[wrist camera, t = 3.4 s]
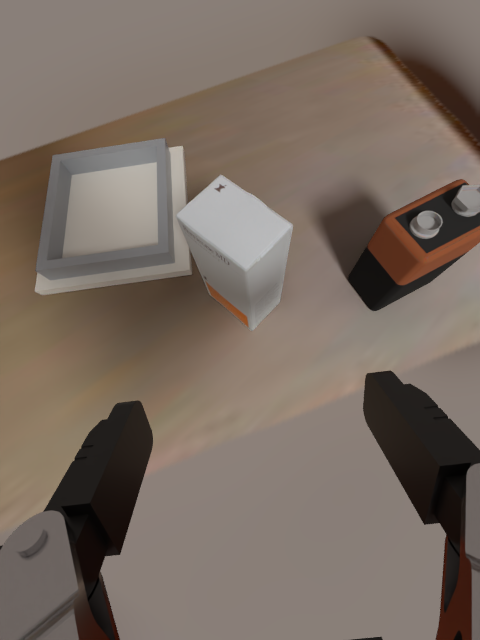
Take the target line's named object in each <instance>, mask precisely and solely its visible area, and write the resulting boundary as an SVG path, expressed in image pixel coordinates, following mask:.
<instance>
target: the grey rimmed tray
mask: <svg viewBox="0 0 480 640" xmlns="http://www.w3.org/2000/svg"><path fill="white" fill-rule="evenodd" d="M187 204H188V198H187V182H186V166H185V152H184V149H183V146H178V147H172V148H168V145H167V142H166V139H165V138H162V139H156V140H149V141H143V142H136V143H130V144H123V145H117V146H110V147H104V148H97V149H91V150H84V151H78V152H71V153H65V154H58V155H53V157H52V164H51V171H50V177H49V184H48V191H47V197H46V204H45V210H44V217H43V224H42V230H41V237H40V244H39V250H38V257H37V263H36V270H35V271H36V272H38V273H37V279H36V286H35V292H37V293H39V294H41V295H48V294H55V293H62V292H69V291H77V290H84V289H91V288H99V287H106V286H113V285H120V284H128V283H135V282H142V281H150V280H157V279H164V278H171V277H179V276H186V275H192V261H191V251H190V248H189V246H188V244H187V241H186V239H185V237H184V234H183V232H182V230H181V227H180V225H179V223H178V220H177V218H176V214H177V213H178V212H179V211H180V210H181V209H182V208H184V207H185V206H186V205H187Z"/></svg>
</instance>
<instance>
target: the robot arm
mask: <svg viewBox="0 0 480 640" xmlns="http://www.w3.org/2000/svg"><path fill="white" fill-rule="evenodd" d="M363 411H364V416H365V420H366V422H367V424H368V427H369V428H370V430H371V432H372V433H373V435H374V437H375V439H376V441H377V442H378V444H379V446H380V448H381V449H382V451H383V453H384V454H385V456H386V458H387V460H388V462H389V463H390V465H391V467H392V469H393V470H394V472H395V474H396V476H397V477H398V479H399V481H400V482H401V484H402V486H403V488H404V490H405V492H406V493H407V495H408V497H409V498H410V500H411V502H412V504H413V506H414V507H415V509H416V511H417V513H418V514H419V516H420V518H421V520H422V521H423V523H424V525H425V524H434V523H440V524H441V526H442V527H443V529H444V531H445V533H446V538H445V547H444V561H443V576H442V591H441V605H440V617H439V625H438V630H437V635H436V640H480V450H479V449H478V448H477V447H476V446H475V445H474V444H473V443H472V441H471V440H470V439H469V438H467V436H466V435H465V434H464V433H463V432H462V431H461V430H460V429H459V428H458V427H457V425H456V424H455V423H454V422H453V421H452V420H451V419H448V416H447V415H446V414H445V413H444V412H443V411H442V410H441V408H438V405H437V404H436V403H435V402H434V401H433V400H432V399H431V398H430V397H429V396H428V395H427V394H426V393H425V392H423V391H422V390H420V389H418V388H417V387H415V386H413V385H411V384H403V383H402V382H401V381H400V380H399V379H398V377H397V376H396V375H395V374H394V373H393V372H392V371H383V372H375V373H368V374H367V375H366V378H365V390H364V403H363ZM152 446H153V435H152V430H151V428H150V425H149V422H148V419H147V417H146V414H145V411H144V408H143V406H142V403H141V402H140V401H131V402H123V403H117V404H116V405H115V406H114V408H113V410H112V411H111V413H110V415H109V417H108V419H106V420H101V421H100V422H99V423H98V424H97V425H96V426H95V427H94V428H93V429H92V430H91V431H90V432H89V434H88V436H87V437H86V439H85V441H84V443H83V444H82V446H81V449H80V450H79V451H78V453H77V455H76V456H75V460H74V461H73V462H72V463H71V465H70V467H69V469H68V470H67V472H66V474H65V475H64V477H63V479H62V481H61V482H60V484H59V486H58V488H57V489H56V491H55V493H54V495H53V496H52V498H51V500H50V501H49V503H48V505H47V507H46V508H45V510H44V511H43V512H41V513H39V514H37V515H35V516H33V517H31V518H29V519H28V520H27V521H25V522H24V523H23V524H21V525H20V526H19V527H18V528H17V529H16V530H15V531H14V532H13V533H12V534H11V535H10V536H9V538H8V539H7V540H6V542H5V543H4V545H2V546H0V640H120V638H119V634H118V630H117V627H116V623H115V620H114V616H113V612H112V609H111V605H110V602H109V598H108V595H107V591H106V587H105V584H104V581H103V576H102V574H101V572H100V569H101V567H102V564H103V560H104V558H105V556H112V555H120V553H121V550H122V546H123V543H124V540H125V537H126V533H127V530H128V527H129V523H130V520H131V517H132V513H133V510H134V507H135V504H136V500H137V497H138V493H139V490H140V487H141V484H142V480H143V477H144V474H145V471H146V467H147V464H148V461H149V457H150V454H151V451H152ZM353 640H382V637H374V638H364V639H353Z"/></svg>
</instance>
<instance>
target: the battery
mask: <svg viewBox="0 0 480 640" xmlns="http://www.w3.org/2000/svg"><path fill="white" fill-rule="evenodd" d="M479 242H480V185H469V184H468V183H467V182H466V181H465V180H462V179H460V180H456V181H454V182H452V183H450V184H448V185H446V186H444V187H442V188H440V189H438V190H436V191H434V192H432V193H430V194H428V195H426V196H424V197H422V198H420V199H418V200H416V201H414V202H412V203H410V204H408V205H406V206H404V207H402V208H400V209H398V210H396V211H394V212H392V213H390V214H388V215H387V216H385V217H384V219H383V220H382V222H381V224H380V225H379V227H378V229H377V230H376V232H375V233H374V235H373V237H372V238H371V240H370V242H369V243H368V245H367V247H366V248H365V250H364V252H363V253H362V255H361V256H360V258H359V260H358V261H357V263H356V265H355V266H354V268H353V270H352V271H351V273H350V275H349V277H348V279H349V281H350V282H351V284H352V285H353V286H354V288H355V289H356V290H357V292H358V293H359V294H360V296H361V297H362V298H363V300H364V301H365V302H366V304H367V305H368V306H369V308H370V309H371V310H373V311H377V310H379V309H381V308H383V307H385V306H387V305H389V304H391V303H392V302H394V301H396V300H398V299H400V298H402V297H404V296H405V295H407V294H409V293H411V292H413V291H415V290H417V289H419V288H420V287H422V286H424V285H426V284H428V283H430V282H431V281H432V280H434V279H435V278H436V277H437V276H439V275H440V274H441V273H442V272H443V271H445V270H446V269H447V268H448V267H450V266H451V265H452V264H453V263H455V262H456V261H457V260H458V259H460V258H461V257H462V256H463V255H465V254H466V253H467V252H468V251H469V250H471V249H472V248H473V247H474V246H476V245H477V244H478V243H479Z"/></svg>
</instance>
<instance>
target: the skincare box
mask: <svg viewBox="0 0 480 640" xmlns="http://www.w3.org/2000/svg"><path fill="white" fill-rule="evenodd" d="M176 218H177V220H178V223H179V225H180V227H181V230H182V232H183V234H184V237H185V239H186V241H187V244H188V246H189V248H190V251H191V253H192V255H193V258H194V260H195V262H196V265H197V267H198V270H199V272H200V274H201V276H202V279H203V281H204V283H205V286H206V288H207V290H208V293H209V295H210V296H212V297H213V298H214V299H215V300H217V301H218V302H219V303H220V304H221V305H223V306H224V307H225V308H226V309H227V310H228V311H230V312H231V313H232V314H233V315H234V316H235V317H236V318H237V319H239V320H240V321H241V322H242V323H243V324H244V325H245V326H246V327H247V328H248V329H250V330H251V331H253V330H254V329H255V328H256V327H257V326H258V324H259V323H260V322H261V321H262V320H263V319H264V318H265V317H266V316H267V315H268V314H269V313H270V312H271V311H272V310H273V309H274V308H275V307H276V306H277V305H278V304H279V303H280V299H281V293H282V287H283V281H284V275H285V269H286V263H287V257H288V251H289V245H290V240H291V235H292V230H293V225H292V224H291V223H290V222H289V221H287V220H286V219H284V218H283V217H282V216H280V215H279V214H277V213H276V212H275V211H273V210H272V209H270V208H269V207H267V206H266V205H265V204H264V203H263V202H262V201H261V200H259V199H258V198H257V197H255V196H254V195H252V194H250V193H248V192H246V191H245V190H243V189H242V188H240V187H239V186H237V185H236V184H234V183H233V182H231V181H230V180H229V179H227V178H226V177H224V176H223V175H219V176H218V177H217V178H216V179H215V180H214V181H213V182H212V183H211V184H210V185H209V186H207V187H206V188H205V189H204V190H203V191H202V192H201V193H199V194H198V195H197V196H196V197H195V198H194V199H193V200H191V201H190V202H189V203H188V204H187V205H186V206H185V207H184V208H182V209H181V210H180V211H179V212H178V213H177V214H176Z"/></svg>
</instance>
